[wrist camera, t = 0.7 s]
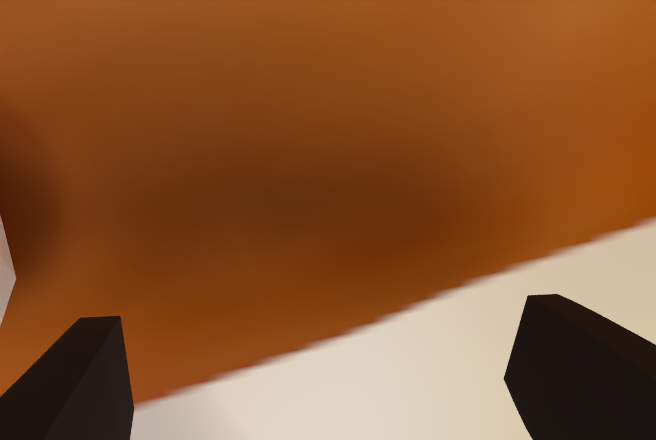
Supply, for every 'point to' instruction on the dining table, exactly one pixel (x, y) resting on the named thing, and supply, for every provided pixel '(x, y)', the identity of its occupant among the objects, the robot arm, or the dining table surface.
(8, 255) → the geometric ball
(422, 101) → the dining table surface
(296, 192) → the dining table surface
